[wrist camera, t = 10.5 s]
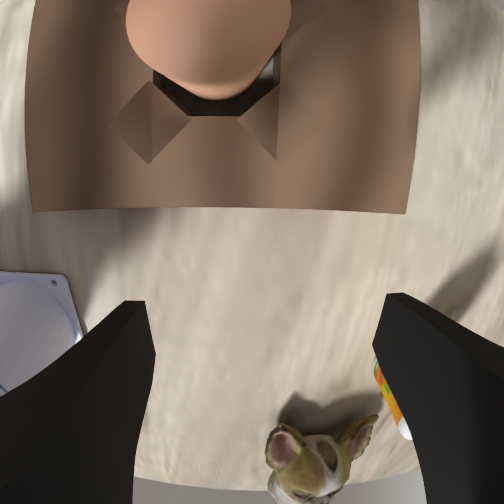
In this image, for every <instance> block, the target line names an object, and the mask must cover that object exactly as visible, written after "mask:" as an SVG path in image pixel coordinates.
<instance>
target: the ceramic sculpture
mask: <svg viewBox="0 0 504 504" xmlns="http://www.w3.org/2000/svg"><path fill="white" fill-rule="evenodd" d="M378 417H379V416H378V415H372V416H369V417H366V418H363V419H360V420H358V421H355V422H353V423H351V424H349V425H347V426H346V427H345V428H344V429H343V431H342V432H341V435H340V436H339V438H338V439H337V440H336V439H334V438H333V437H332V436H329V435H322V434H319V435H307V436H302V435H301V433H300V432H299V431H297V430H296V429H294V428H292V427H290V426H288V425H286V424H284V423H280V424H279V425H278V426H277V427H276V428H275V429H274V430H272V432H271V433H270V435H269V438H268V439H267V443H266V449H265V455H266V463H267V464H268V466H269V467H270V468H272V469H274V471H273V472H272V474H271V476H270V477H269V480H268V492H269V493H270V494H271V495H272V496H273V497H274V499H275V500H276V502H277V503H278V504H330V503H331V502H332V500H333V497H334V495H335V494H336V493H337V492H339V491H340V490H341V489H342V487H343V485H344V484H345V482H346V481H347V480H348V478H349V475H350V468H351V462H352V461H353V460H355V459H357V458H358V457H360V456H361V455H362V454H363V452H364V450H365V448H366V447H367V446H368V444H369V441H370V435H371V433H372V429H373V424H374V423H375V422H376V421H377V419H378Z"/></svg>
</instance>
